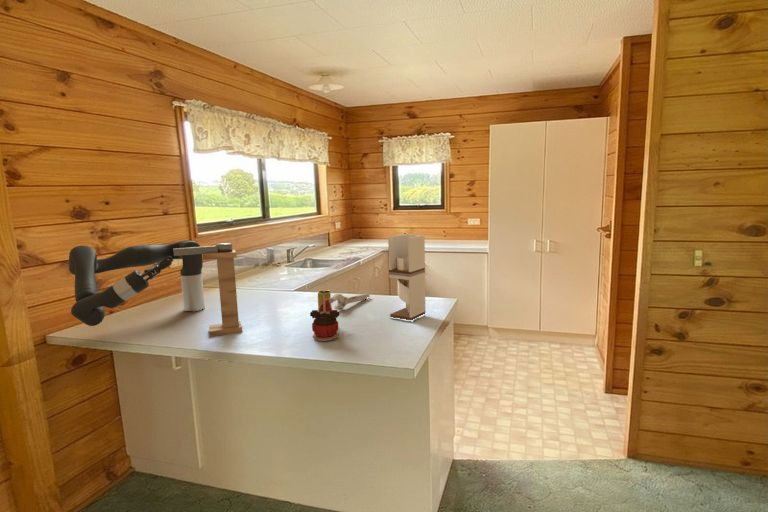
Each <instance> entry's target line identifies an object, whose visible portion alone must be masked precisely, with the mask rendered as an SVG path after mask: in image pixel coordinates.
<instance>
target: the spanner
mask: <svg viewBox="0 0 768 512" xmlns="http://www.w3.org/2000/svg"><path fill="white" fill-rule="evenodd" d="M200 246H201V245H200ZM233 250H234V248H233V243H231V242H224V243H222V242H221V243H216V244H215V245H204V246H201V247H188V248H175V249H173V252H174V256H181V255H194V254H202V255H203V254H206V253H224V252H232V251H233Z"/></svg>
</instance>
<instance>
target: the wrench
mask: <svg viewBox="0 0 768 512" xmlns="http://www.w3.org/2000/svg"><path fill="white" fill-rule="evenodd" d="M367 297H369V298H370V297H371V296H370V294H369V293H362V294H356V295H352V296H347V297H346V296H344V295H342V294H341V293H335V294H334V295H333V298H334V302H336V301H337V304H336V305H334V306H333V308H334V310H337V311H343V310H344V308H345V307H346V306H347V305H348V304H353V303H358V302H363V301H366V300H365V299H367Z"/></svg>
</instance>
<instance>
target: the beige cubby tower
mask: <svg viewBox="0 0 768 512" xmlns="http://www.w3.org/2000/svg"><path fill="white" fill-rule="evenodd" d="M387 239H388V240H387V243H388V248H387V249H388V274H389V275H388V278H389V279H396V281H397V296H398V298H399V299H400V301H402V302H403V303H405V307H404V308H401V309H398V310H397V311H395V312H392V313H390V314H389V316H390V317H393V318H400V319H406V320H413V319H415V318H417V317H419V316H421V315H423V314H425V313H426V262H425V261H426V259H425V258H426V256H425V255H426V253H425V251H426V250H425V248H426V247H425V246H426V245H425V242H426V241H425V234H424V235H423V234H405V233H404V234H397V235H393V236H388V238H387ZM390 317H389V318H390Z"/></svg>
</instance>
